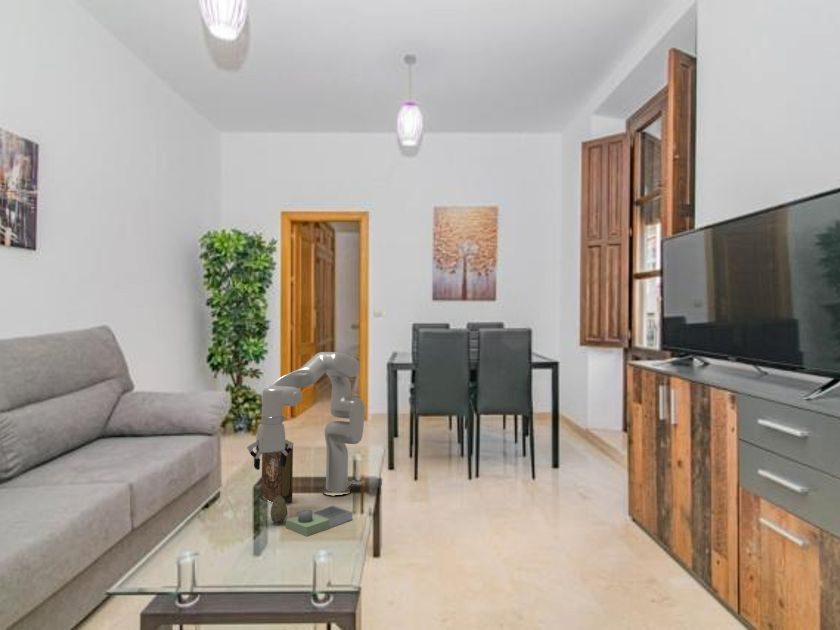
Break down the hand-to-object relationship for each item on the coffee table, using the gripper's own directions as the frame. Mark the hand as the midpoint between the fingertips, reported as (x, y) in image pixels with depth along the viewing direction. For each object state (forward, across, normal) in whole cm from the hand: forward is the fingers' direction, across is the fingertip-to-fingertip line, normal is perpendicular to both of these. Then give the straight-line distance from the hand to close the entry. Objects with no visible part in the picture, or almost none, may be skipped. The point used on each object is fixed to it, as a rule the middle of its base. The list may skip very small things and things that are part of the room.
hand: (270, 467), depth 191 cm
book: (+20, -12, -24) cm, 33 cm away
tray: (+20, -20, +11) cm, 30 cm away
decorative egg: (+20, -3, +3) cm, 21 cm away
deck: (+20, -10, +13) cm, 26 cm away
